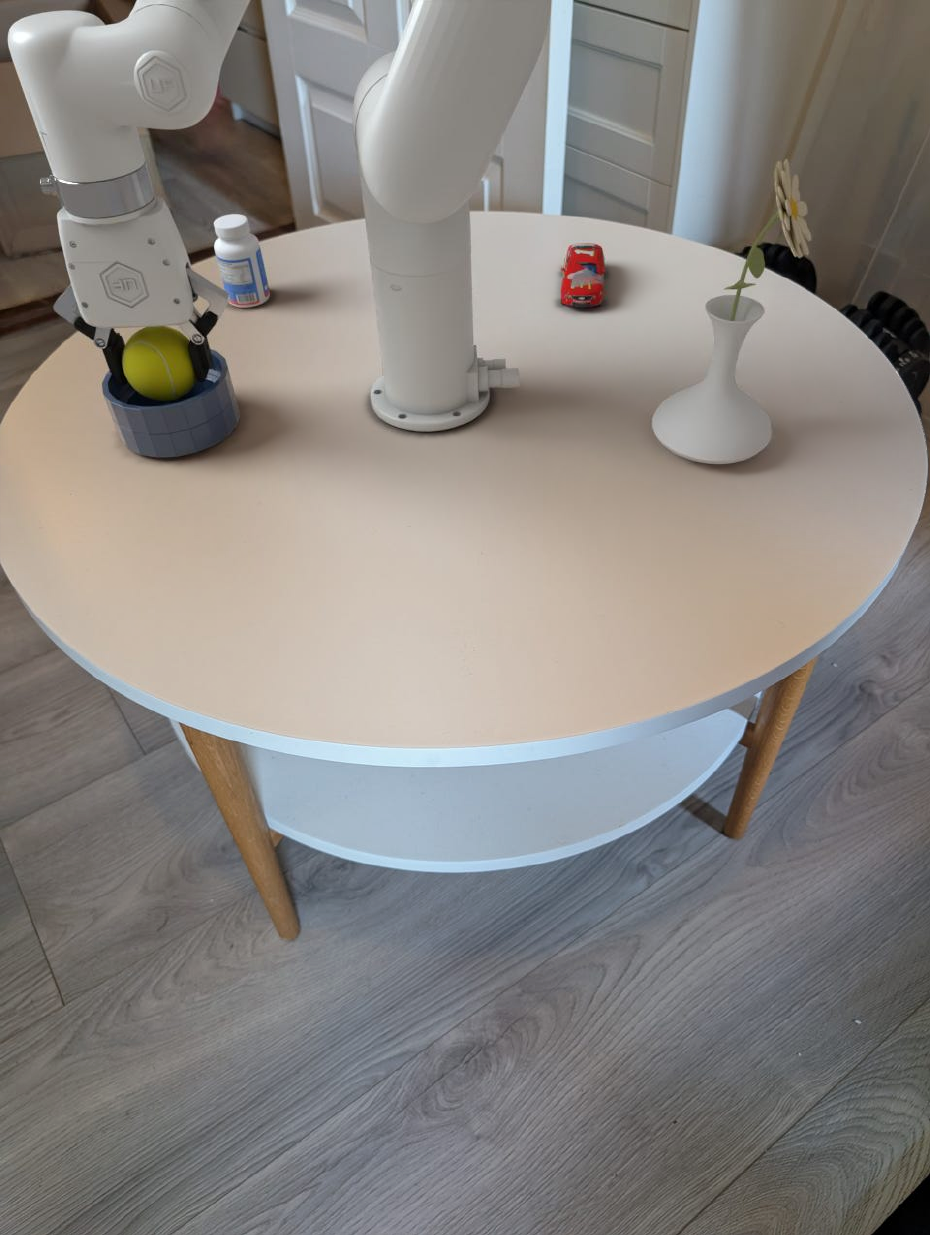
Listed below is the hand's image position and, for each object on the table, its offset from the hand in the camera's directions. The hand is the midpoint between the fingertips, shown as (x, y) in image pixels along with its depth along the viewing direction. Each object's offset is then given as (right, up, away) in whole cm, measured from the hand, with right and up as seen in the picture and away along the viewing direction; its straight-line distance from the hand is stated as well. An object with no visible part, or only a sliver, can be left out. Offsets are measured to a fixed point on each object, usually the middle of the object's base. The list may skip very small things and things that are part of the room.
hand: (164, 375), depth 87 cm
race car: (+44, +17, +23) cm, 53 cm away
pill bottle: (+3, +16, +24) cm, 29 cm away
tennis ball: (0, -2, +2) cm, 2 cm away
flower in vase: (+54, -6, 0) cm, 55 cm away
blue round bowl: (0, -4, +4) cm, 6 cm away
